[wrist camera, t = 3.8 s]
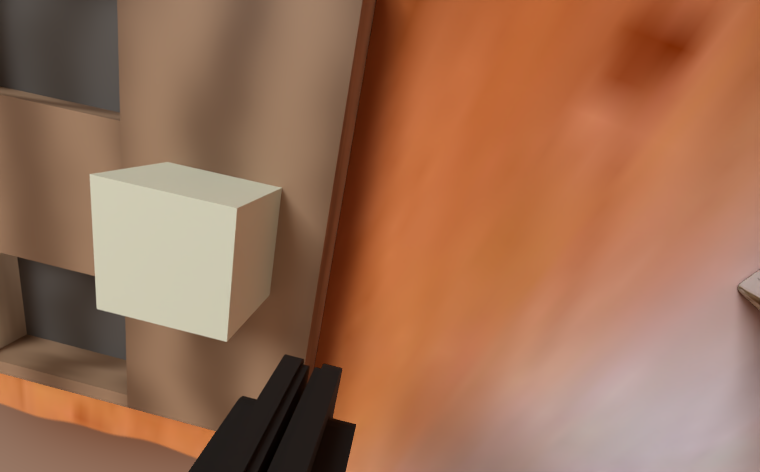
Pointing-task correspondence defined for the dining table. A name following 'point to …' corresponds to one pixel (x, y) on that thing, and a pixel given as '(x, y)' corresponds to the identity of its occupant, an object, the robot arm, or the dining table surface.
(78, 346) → the box
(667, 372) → the dining table surface
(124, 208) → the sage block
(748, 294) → the coffee box
